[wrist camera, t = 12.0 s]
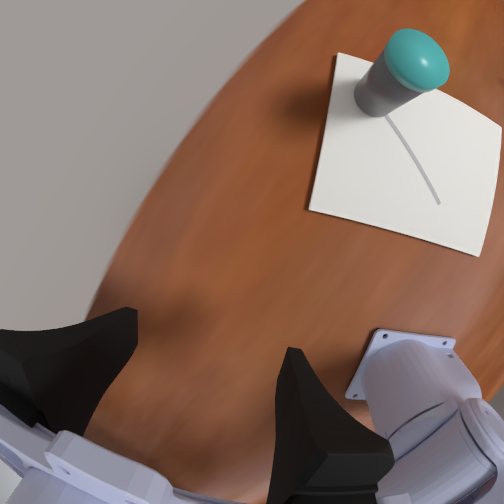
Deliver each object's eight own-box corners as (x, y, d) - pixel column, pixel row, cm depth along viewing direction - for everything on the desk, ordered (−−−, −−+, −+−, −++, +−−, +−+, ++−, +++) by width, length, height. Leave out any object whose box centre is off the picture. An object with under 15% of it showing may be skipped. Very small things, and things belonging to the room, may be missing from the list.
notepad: (498, 127, 15) (502, 127, 15) (475, 255, 19) (479, 257, 18) (337, 54, 16) (338, 52, 15) (308, 208, 19) (308, 209, 19)
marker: (395, 86, 16) (448, 45, 8) (391, 124, 17) (449, 97, 9) (355, 72, 16) (391, 19, 8) (349, 110, 17) (388, 71, 9)
